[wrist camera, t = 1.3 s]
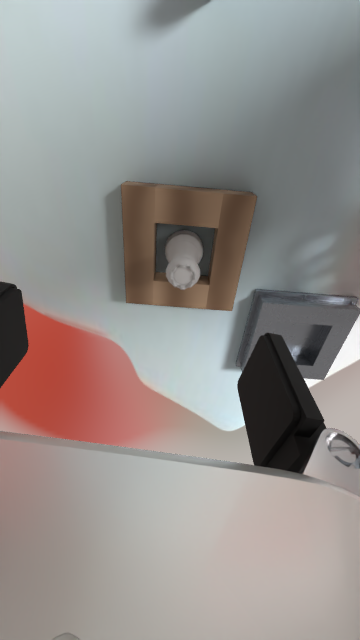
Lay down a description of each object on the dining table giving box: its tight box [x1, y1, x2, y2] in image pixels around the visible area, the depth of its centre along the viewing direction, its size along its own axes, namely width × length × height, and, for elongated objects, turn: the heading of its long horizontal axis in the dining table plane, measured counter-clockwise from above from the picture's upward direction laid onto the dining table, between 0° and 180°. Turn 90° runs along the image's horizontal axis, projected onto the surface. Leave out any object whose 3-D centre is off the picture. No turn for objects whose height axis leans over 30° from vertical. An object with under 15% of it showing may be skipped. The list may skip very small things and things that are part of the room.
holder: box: [236, 289, 360, 380], centre depth 36 cm, size 13×13×2 cm
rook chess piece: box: [165, 230, 203, 290], centre depth 28 cm, size 4×4×8 cm
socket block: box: [121, 181, 257, 311], centre depth 30 cm, size 13×13×2 cm
